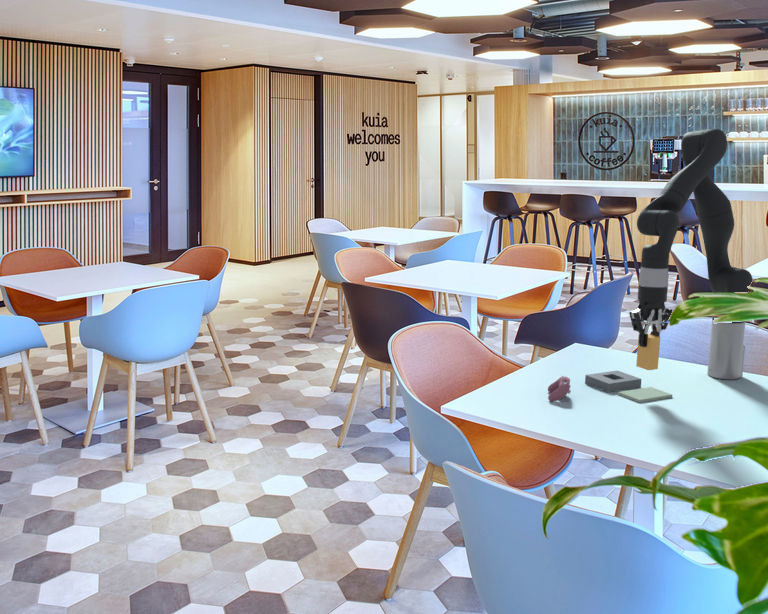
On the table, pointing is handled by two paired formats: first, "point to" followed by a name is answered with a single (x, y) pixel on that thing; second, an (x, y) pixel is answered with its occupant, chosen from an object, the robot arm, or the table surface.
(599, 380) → the graphite dock
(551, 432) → the table surface
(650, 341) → the amber plug
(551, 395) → the pink toy
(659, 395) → the sage mat
